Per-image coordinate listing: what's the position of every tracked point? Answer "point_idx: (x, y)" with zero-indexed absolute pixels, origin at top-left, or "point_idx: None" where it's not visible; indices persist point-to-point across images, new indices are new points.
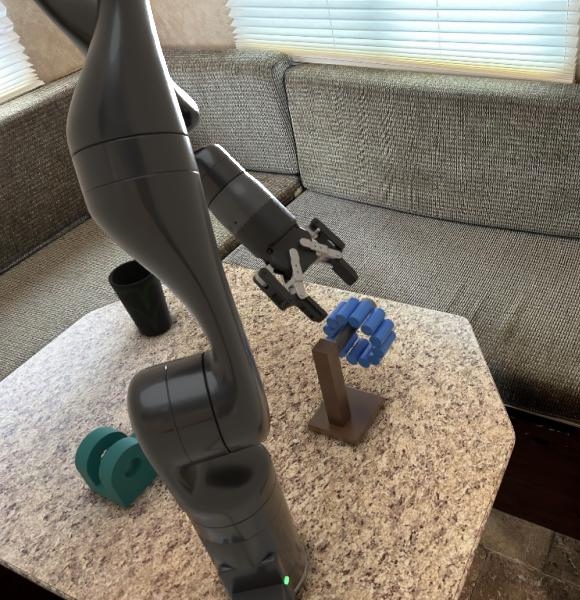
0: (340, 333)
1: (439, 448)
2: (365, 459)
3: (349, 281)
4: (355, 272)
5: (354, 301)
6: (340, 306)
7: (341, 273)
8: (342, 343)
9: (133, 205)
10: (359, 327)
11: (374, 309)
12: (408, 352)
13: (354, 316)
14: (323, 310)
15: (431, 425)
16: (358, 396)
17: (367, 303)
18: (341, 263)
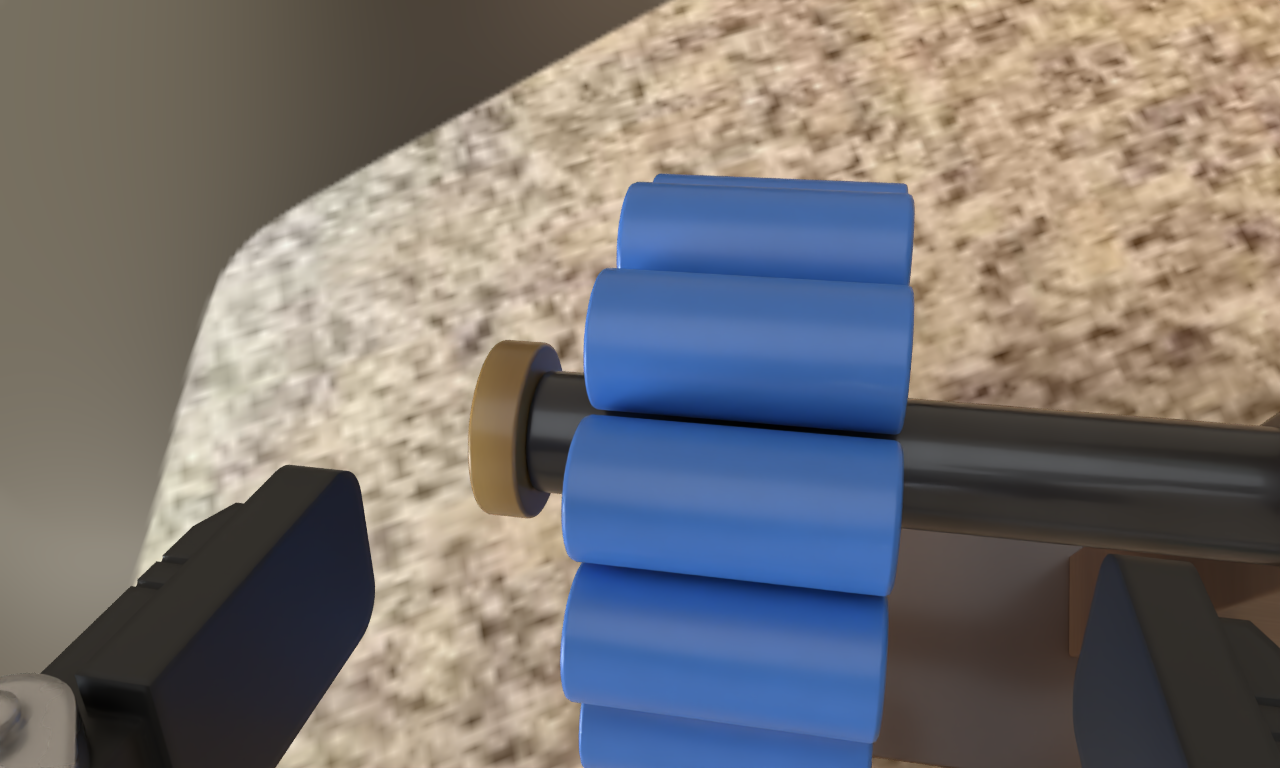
0: (1044, 479)
1: (1057, 103)
2: (1274, 397)
3: (347, 586)
4: (220, 520)
5: (628, 444)
6: (667, 631)
7: (274, 685)
8: (1148, 419)
9: None
10: None
11: (648, 257)
12: None
13: (897, 322)
14: (1142, 595)
15: (938, 176)
16: (917, 570)
17: (642, 287)
18: (164, 650)
